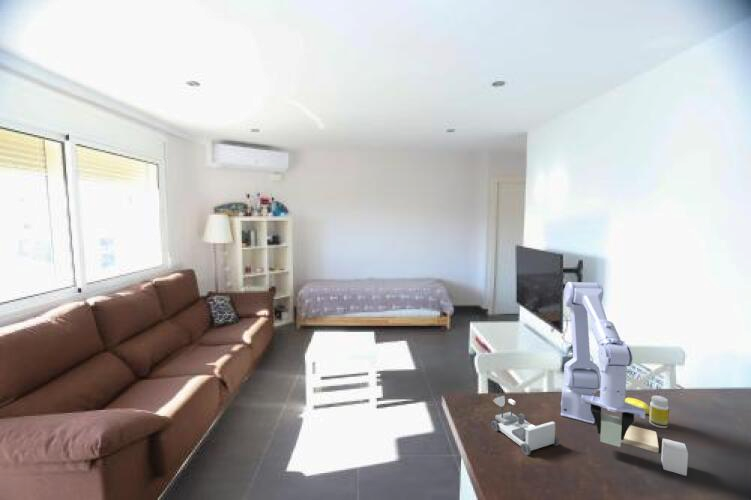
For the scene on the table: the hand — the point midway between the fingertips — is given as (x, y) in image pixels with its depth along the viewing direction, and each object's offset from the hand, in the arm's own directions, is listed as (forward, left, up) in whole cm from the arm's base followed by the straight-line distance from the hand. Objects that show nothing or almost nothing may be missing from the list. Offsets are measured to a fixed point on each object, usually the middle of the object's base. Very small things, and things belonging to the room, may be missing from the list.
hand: (610, 435), depth 100 cm
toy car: (-23, -4, -6) cm, 24 cm away
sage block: (0, 0, -1) cm, 1 cm away
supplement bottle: (+13, +25, -5) cm, 29 cm away
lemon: (+8, +32, -6) cm, 33 cm away
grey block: (+14, +2, -5) cm, 15 cm away
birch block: (+7, +12, -6) cm, 15 cm away
